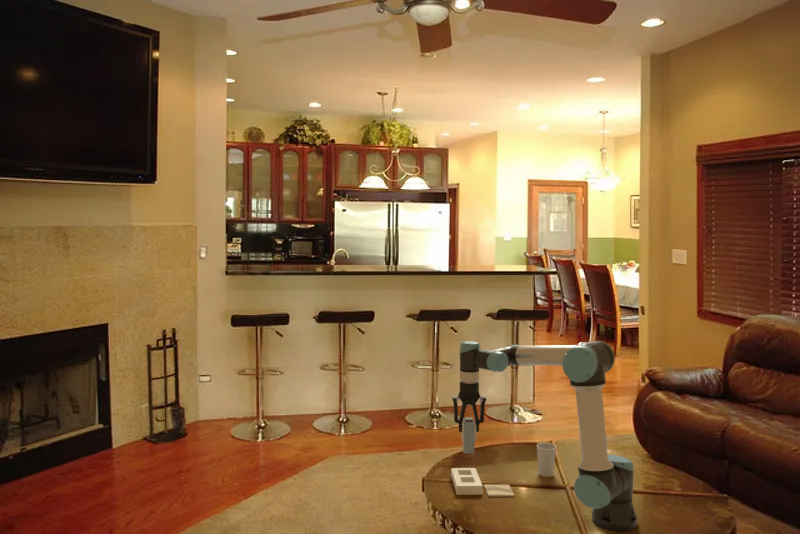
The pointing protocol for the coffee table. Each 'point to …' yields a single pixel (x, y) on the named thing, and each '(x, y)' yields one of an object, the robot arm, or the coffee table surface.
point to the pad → (499, 491)
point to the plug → (469, 435)
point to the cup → (546, 459)
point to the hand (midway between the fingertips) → (468, 439)
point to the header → (466, 481)
